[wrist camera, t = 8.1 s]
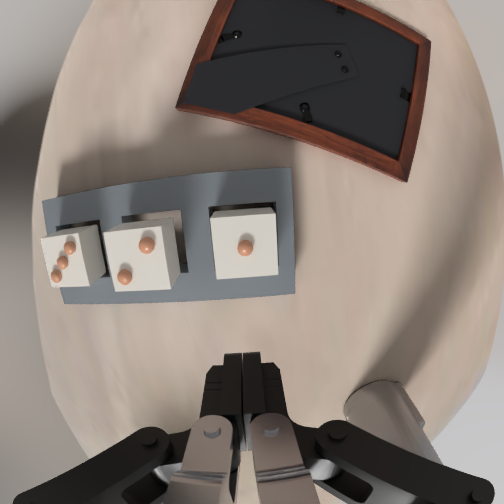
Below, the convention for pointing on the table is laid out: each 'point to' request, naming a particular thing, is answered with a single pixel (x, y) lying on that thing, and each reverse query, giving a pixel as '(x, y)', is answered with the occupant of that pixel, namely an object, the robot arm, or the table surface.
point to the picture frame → (314, 77)
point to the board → (184, 231)
